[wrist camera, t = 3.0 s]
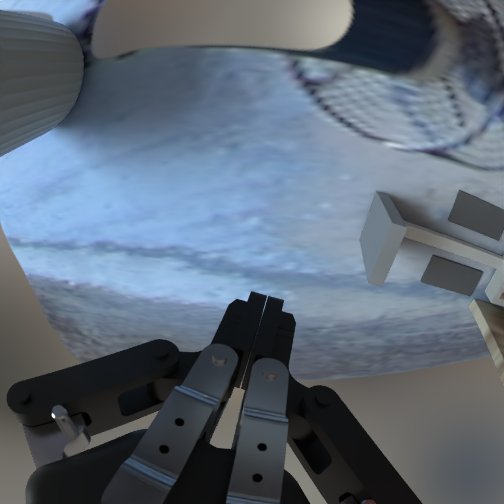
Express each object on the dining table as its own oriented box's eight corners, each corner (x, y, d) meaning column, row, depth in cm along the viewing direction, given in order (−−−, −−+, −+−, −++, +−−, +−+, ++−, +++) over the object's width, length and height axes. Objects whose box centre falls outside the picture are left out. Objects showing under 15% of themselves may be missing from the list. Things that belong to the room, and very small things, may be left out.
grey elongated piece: (354, 253, 30) (360, 298, 23) (381, 175, 26) (399, 202, 19) (533, 307, 27) (557, 346, 20) (562, 253, 23) (594, 287, 16)
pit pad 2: (432, 254, 28) (433, 256, 28) (481, 271, 27) (482, 272, 27) (420, 280, 30) (421, 282, 29) (469, 294, 29) (469, 296, 29)
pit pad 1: (459, 189, 25) (460, 190, 24) (508, 212, 24) (510, 213, 24) (447, 219, 26) (448, 220, 26) (497, 239, 25) (498, 240, 25)
